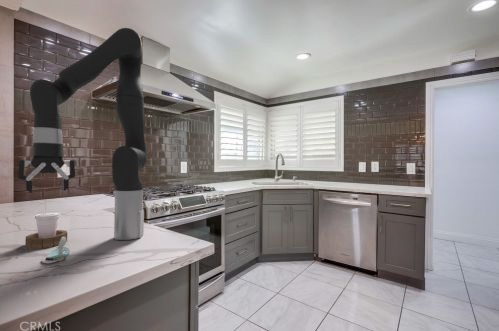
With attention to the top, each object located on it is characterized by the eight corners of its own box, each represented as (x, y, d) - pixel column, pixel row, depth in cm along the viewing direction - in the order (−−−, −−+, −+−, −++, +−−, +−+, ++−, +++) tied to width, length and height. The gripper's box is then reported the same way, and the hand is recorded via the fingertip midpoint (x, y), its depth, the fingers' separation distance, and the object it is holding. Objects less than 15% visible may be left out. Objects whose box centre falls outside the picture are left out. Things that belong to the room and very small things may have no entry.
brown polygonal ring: (72, 237, 85) (72, 229, 85) (56, 247, 74) (56, 238, 74) (38, 239, 82) (38, 231, 82) (16, 250, 72) (17, 240, 72)
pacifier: (39, 267, 61) (69, 261, 64) (39, 243, 61) (68, 238, 64) (43, 258, 67) (69, 253, 70) (42, 236, 67) (69, 232, 70)
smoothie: (44, 240, 81) (45, 199, 81) (64, 240, 82) (65, 199, 82) (28, 246, 75) (29, 202, 75) (50, 246, 75) (51, 202, 75)
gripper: (73, 144, 86) (72, 189, 86) (18, 142, 76) (18, 192, 76) (76, 143, 81) (76, 190, 80) (18, 140, 71) (17, 194, 71)
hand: (48, 191), depth 78 cm, fingers open, 8 cm apart
